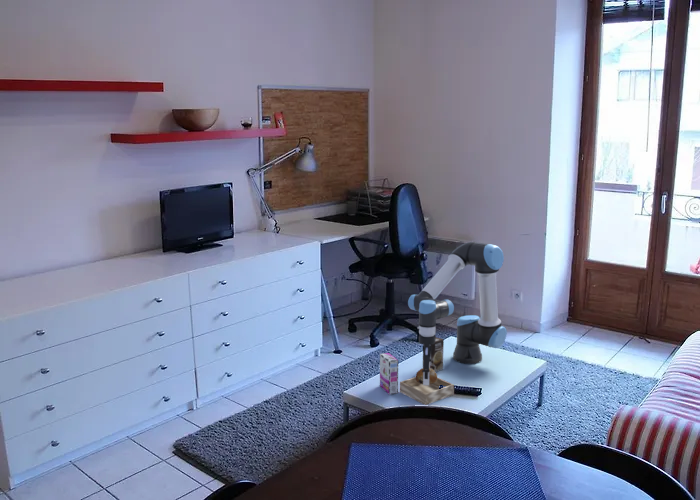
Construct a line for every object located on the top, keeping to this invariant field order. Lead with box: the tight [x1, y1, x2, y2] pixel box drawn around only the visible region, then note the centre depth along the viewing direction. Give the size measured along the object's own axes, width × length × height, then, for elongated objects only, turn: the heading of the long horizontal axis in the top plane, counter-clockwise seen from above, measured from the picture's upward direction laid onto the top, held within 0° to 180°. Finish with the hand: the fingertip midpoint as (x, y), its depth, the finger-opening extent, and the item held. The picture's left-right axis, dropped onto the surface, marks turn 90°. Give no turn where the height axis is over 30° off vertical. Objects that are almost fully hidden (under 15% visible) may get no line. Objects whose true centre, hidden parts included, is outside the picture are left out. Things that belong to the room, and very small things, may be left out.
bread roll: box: [415, 367, 438, 384], centre depth 284 cm, size 10×10×8 cm
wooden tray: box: [399, 376, 455, 406], centre depth 285 cm, size 18×18×5 cm
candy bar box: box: [379, 352, 399, 396], centre depth 289 cm, size 11×5×16 cm, turn 21°
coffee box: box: [422, 336, 445, 373], centre depth 312 cm, size 9×6×16 cm
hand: (426, 380), depth 284 cm, fingers closed on bread roll, 10 cm apart
